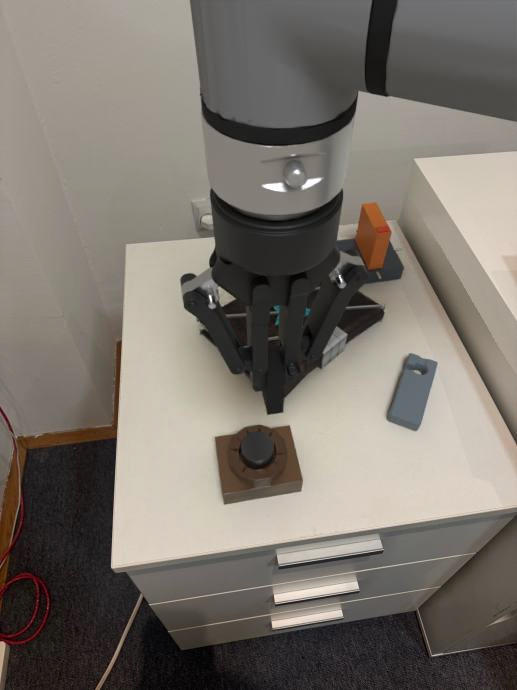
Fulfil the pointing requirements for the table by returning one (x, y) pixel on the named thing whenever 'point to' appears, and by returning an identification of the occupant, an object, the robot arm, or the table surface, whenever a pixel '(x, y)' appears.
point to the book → (350, 325)
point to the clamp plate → (391, 263)
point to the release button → (257, 449)
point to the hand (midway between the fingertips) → (272, 401)
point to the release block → (258, 482)
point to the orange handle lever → (372, 235)
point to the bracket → (412, 392)
